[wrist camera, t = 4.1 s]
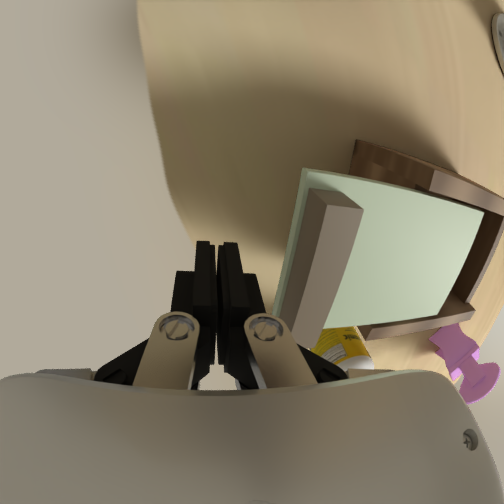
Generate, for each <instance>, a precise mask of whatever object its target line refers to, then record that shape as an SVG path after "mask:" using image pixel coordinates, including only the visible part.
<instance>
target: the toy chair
mask: <svg viewBox="0 0 504 504" xmlns="http://www.w3.org/2000/svg"><path fill="white" fill-rule="evenodd" d="M429 341H431V342H433V343H434V344H436V345H437V346H438V347H439V348H440V349H439V350H438V351H437V352H435V354H437V355H438V356H440V357H441V358H443V359H444V360H445V363H446V367H447V369H448V371H449V375H450V377H451V378H452V380H453V381H454V380H455V379H456V378H457V377H459V376H460V375H461V374H462V373H463V375H464V380H463V382H462V384H461V388H460V391H459V393H460V394H461V396H462V397H463V399H464V401H465V402H466V404H472V403H474V402H477V401H479V400H480V399H482V398H484V397H485V396H486V395H487V394H488V393H489V392H490V391H491V390H492V389H493V388H494V386H495V385H496V383H497V381H498V379H499V376H500V367H499V366H498V365H497V364H496V363H485V364H478V363H477V362H476V360H477V359H478V358H479V346H478V345H477V343H476V342H475V341H474V340H473V339H471V338H469V337H468V336H466V335H465V334H464V333H463V332H462V331H461V329H460V327H459V324H458V323H455V324H451V325H447V326H443V327H442V328H440V329H439V330H438V331H437V332H436V333H435V334H434V335H433V336H431V337H430V338H429Z"/></svg>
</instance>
